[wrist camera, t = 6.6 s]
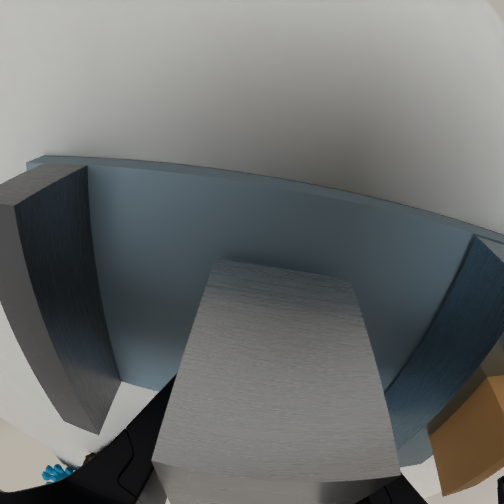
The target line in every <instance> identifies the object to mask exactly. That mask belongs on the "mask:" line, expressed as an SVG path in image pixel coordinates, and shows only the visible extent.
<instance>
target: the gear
mask: <svg viewBox="0 0 504 504" xmlns="http://www.w3.org/2000/svg"><path fill="white" fill-rule="evenodd" d="M78 468H80V467H78ZM71 473H73V469H71V468H68V467H67V468H66V470H65V471H64V470H63V469H62V467H61V466H60V465H59V464H56V465H55V466H54V469H53V468H52V467H51V466H49V465H48V466H47V468H46V472H43V474H42V476H43V479H44V480H49V479H52V480H53V481H54V482H57V481H59V480H61V479H63V478H65V477H67V476H69V475H70V474H71ZM51 474H54V475H51ZM54 482H47V483H46V484H50V483H54Z"/></svg>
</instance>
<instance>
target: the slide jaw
mask: <svg viewBox="0 0 504 504" xmlns="http://www.w3.org/2000/svg"><path fill="white" fill-rule="evenodd" d="M385 400H386V404H387V408H388V413H389V417H390V422H391V426H392V431H393V435H394V440H395V445H396V450H397V455H398V461H399V466H400V467H405V466H411V465H417V464H421V463H423V462H424V461H426V460H427V459H428V458H429V457H431V456H432V455H434V459H435V463H436V467H437V471H438V476H439V481H440V485H441V490H442V495H443V496H447V495H449V494H453V493H456V492H459V491H462V490H464V489H467V488H470V487H472V486H475V485H477V484H479V483H480V482H482V481H484V480H485V479H487V478H488V477H490V476H491V475H493V474H494V473H496V472H497V471H498V470H500V469H501V468H502V467H504V245H503V244H500V243H497V242H494V241H491V240H487V239H484V238H481V237H477V236H476V238H475V241H474V243H473V245H472V248H471V250H470V252H469V255H468V257H467V259H466V261H465V264H464V266H463V268H462V270H461V272H460V274H459V276H458V278H457V280H456V282H455V284H454V286H453V288H452V290H451V292H450V294H449V296H448V298H447V300H446V302H445V303H444V305H443V307H442V309H441V311H440V312H439V314H438V316H437V318H436V319H435V321H434V323H433V325H432V326H431V328H430V330H429V331H428V333H427V335H426V336H425V338H424V339H423V341H422V343H421V344H420V346H419V347H418V349H417V350H416V352H415V353H414V355H413V356H412V358H411V359H410V361H409V362H408V364H407V365H406V367H405V368H404V370H403V371H402V372H401V374H400V375H399V377H398V378H397V379H396V381H395V382H394V384H393V385H392V386H391V388H390V389H389V390H388V392H387V393H386V394H385Z"/></svg>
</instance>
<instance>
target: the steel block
mask: <svg viewBox="0 0 504 504" xmlns="http://www.w3.org/2000/svg"><path fill="white" fill-rule="evenodd" d="M151 461H152V464H153V466H154V468H155V471H156V473H157V475H158V477H159V480H160V482H161V484H162V486H163V489H164V491H165V493H166V495H167V497H168V499H169V501H170V503H171V504H354V503H356V502H358V501H360V500H362V499H363V498H365V497H367V496H369V495H370V494H372V493H374V492H375V491H377V490H379V489H380V488H382V487H384V486H385V485H387V484H388V483H390V482H391V481H393V480H394V479H396V478H397V477H399V476H400V475H401V472H400V466H399V461H398V455H397V450H396V445H395V440H394V435H393V431H392V426H391V422H390V417H389V413H388V408H387V404H386V400H385V396H384V392H383V388H382V384H381V380H380V376H379V372H378V369H377V365H376V361H375V358H374V354H373V351H372V347H371V344H370V340H369V337H368V334H367V330H366V327H365V324H364V320H363V317H362V314H361V311H360V308H359V305H358V301H357V298H356V295H355V292H354V289H353V286H352V283H351V280H350V279H346V278H339V277H333V276H326V275H320V274H313V273H307V272H301V271H295V270H288V269H282V268H276V267H270V266H263V265H257V264H251V263H245V262H239V261H233V260H227V259H221V258H216V259H215V262H214V264H213V267H212V270H211V273H210V276H209V279H208V282H207V285H206V288H205V291H204V293H203V296H202V299H201V302H200V305H199V308H198V311H197V314H196V317H195V320H194V323H193V326H192V329H191V332H190V335H189V339H188V342H187V345H186V348H185V351H184V354H183V357H182V360H181V363H180V366H179V370H178V373H177V376H176V379H175V382H174V386H173V389H172V392H171V395H170V399H169V402H168V405H167V408H166V412H165V415H164V418H163V422H162V425H161V429H160V432H159V435H158V439H157V442H156V446H155V449H154V453H153V456H152V460H151Z"/></svg>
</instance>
